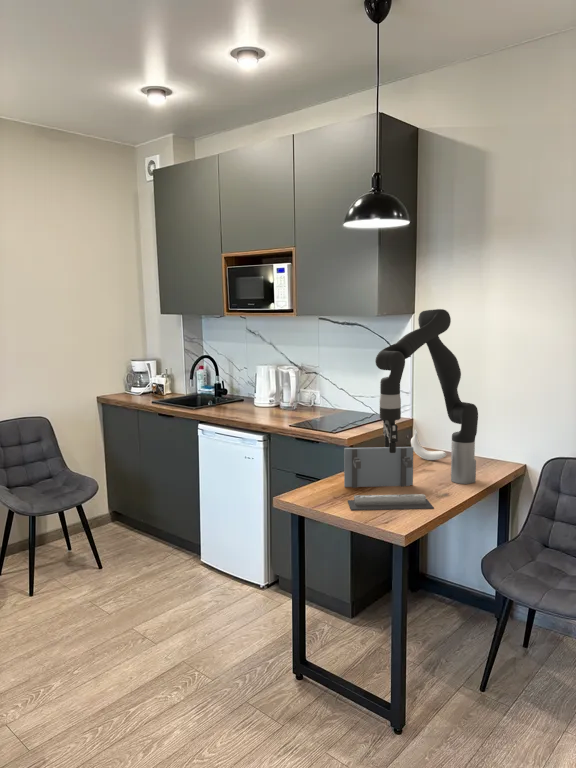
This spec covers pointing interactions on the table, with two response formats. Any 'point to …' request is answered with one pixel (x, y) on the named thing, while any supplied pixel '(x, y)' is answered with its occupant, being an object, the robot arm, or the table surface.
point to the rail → (389, 499)
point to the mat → (389, 506)
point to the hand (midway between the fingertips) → (390, 449)
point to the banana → (425, 453)
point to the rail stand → (378, 467)
